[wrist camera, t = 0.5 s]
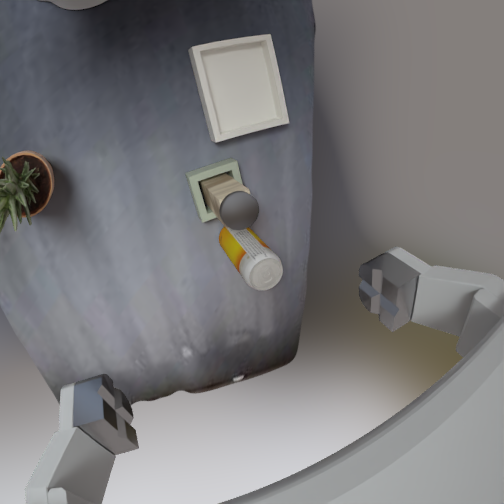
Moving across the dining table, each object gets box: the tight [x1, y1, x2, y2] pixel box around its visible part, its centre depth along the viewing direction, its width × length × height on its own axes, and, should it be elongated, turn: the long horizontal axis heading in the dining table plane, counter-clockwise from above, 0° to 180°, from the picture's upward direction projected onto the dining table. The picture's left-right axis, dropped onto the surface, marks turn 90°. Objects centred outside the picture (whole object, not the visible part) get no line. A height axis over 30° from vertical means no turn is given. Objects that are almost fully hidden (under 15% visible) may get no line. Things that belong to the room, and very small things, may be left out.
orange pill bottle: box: [219, 226, 283, 291], centre depth 51 cm, size 6×6×15 cm
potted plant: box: [0, 151, 54, 233], centre depth 28 cm, size 10×10×25 cm
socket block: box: [185, 158, 243, 223], centre depth 50 cm, size 8×8×3 cm
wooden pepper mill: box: [199, 172, 259, 230], centre depth 46 cm, size 5×5×13 cm
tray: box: [188, 34, 289, 143], centre depth 43 cm, size 16×13×3 cm
